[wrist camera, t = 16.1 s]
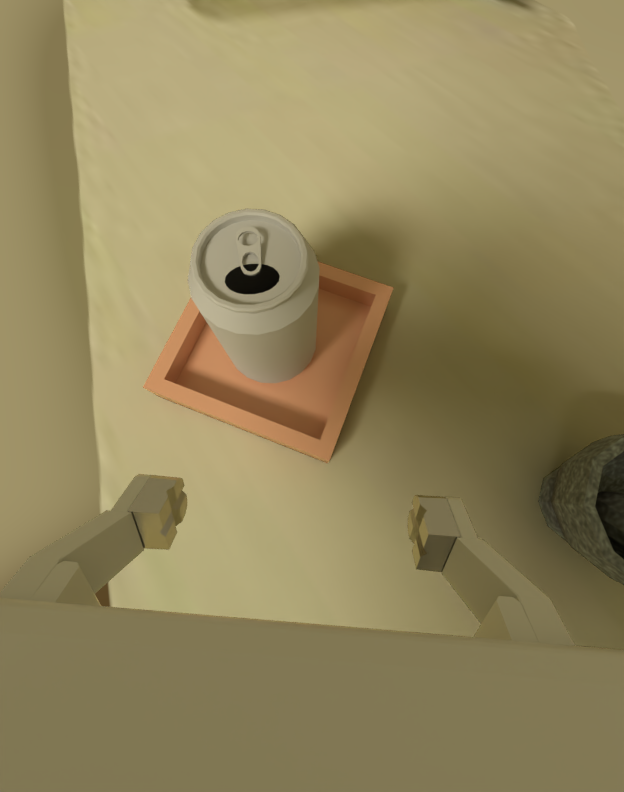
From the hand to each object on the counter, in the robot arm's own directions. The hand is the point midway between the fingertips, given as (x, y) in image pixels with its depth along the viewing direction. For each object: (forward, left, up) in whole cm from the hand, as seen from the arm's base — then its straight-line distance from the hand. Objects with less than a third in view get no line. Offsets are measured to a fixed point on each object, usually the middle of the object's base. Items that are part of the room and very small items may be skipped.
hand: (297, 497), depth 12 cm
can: (+10, +7, -15) cm, 19 cm away
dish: (+10, +7, -16) cm, 20 cm away
